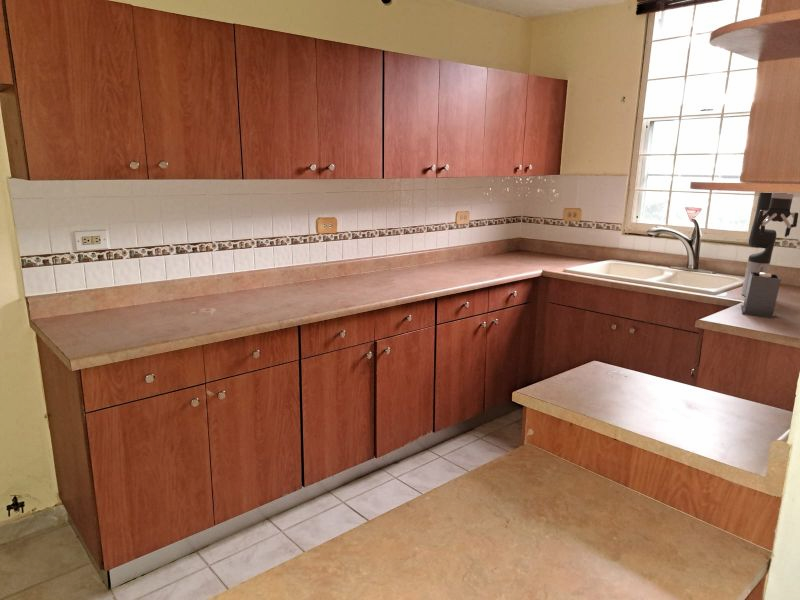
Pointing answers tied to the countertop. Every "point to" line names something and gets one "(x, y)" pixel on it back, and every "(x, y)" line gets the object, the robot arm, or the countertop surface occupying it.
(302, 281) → the countertop surface
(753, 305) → the dark grey upright box
